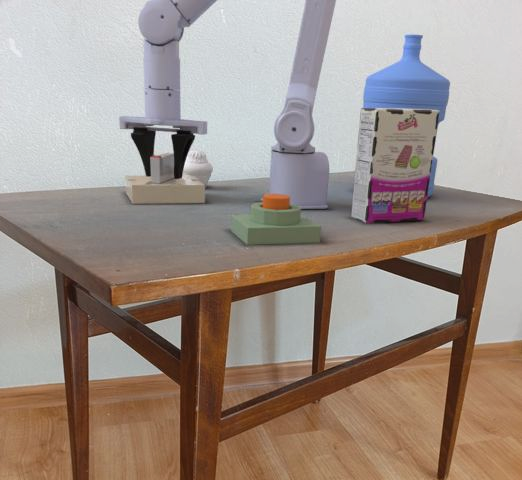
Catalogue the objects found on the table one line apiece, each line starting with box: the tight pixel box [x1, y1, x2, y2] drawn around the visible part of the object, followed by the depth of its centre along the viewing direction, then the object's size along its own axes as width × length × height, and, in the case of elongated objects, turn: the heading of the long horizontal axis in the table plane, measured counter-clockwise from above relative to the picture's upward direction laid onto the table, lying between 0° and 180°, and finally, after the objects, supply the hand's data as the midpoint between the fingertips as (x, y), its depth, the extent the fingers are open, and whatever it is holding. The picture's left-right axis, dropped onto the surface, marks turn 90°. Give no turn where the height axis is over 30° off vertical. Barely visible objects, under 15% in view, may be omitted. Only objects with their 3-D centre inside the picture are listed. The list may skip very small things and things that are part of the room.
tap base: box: [124, 175, 206, 205], centre depth 101 cm, size 12×12×3 cm
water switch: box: [230, 201, 322, 246], centre depth 79 cm, size 10×8×4 cm
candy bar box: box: [350, 107, 440, 224], centre depth 91 cm, size 11×5×16 cm, turn 114°
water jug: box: [353, 33, 451, 199], centre depth 112 cm, size 16×16×28 cm
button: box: [261, 193, 290, 210], centre depth 78 cm, size 4×4×2 cm
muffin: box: [182, 148, 214, 188], centre depth 112 cm, size 6×6×7 cm
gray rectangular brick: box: [150, 152, 174, 183], centre depth 99 cm, size 8×2×4 cm, turn 168°
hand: (164, 177), depth 100 cm, fingers open, 4 cm apart
